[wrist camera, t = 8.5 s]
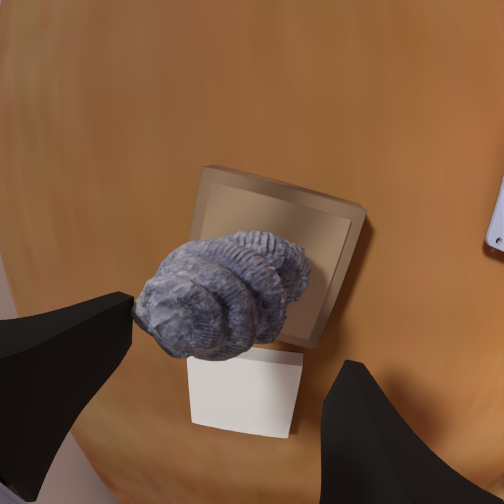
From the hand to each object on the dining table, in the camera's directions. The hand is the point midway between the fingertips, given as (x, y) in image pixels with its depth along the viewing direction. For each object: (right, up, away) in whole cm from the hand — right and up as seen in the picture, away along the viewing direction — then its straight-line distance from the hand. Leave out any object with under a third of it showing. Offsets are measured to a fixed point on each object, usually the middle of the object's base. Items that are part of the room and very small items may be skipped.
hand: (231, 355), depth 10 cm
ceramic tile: (0, -7, +13) cm, 15 cm away
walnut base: (+2, +3, +10) cm, 10 cm away
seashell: (+2, +2, +8) cm, 8 cm away
